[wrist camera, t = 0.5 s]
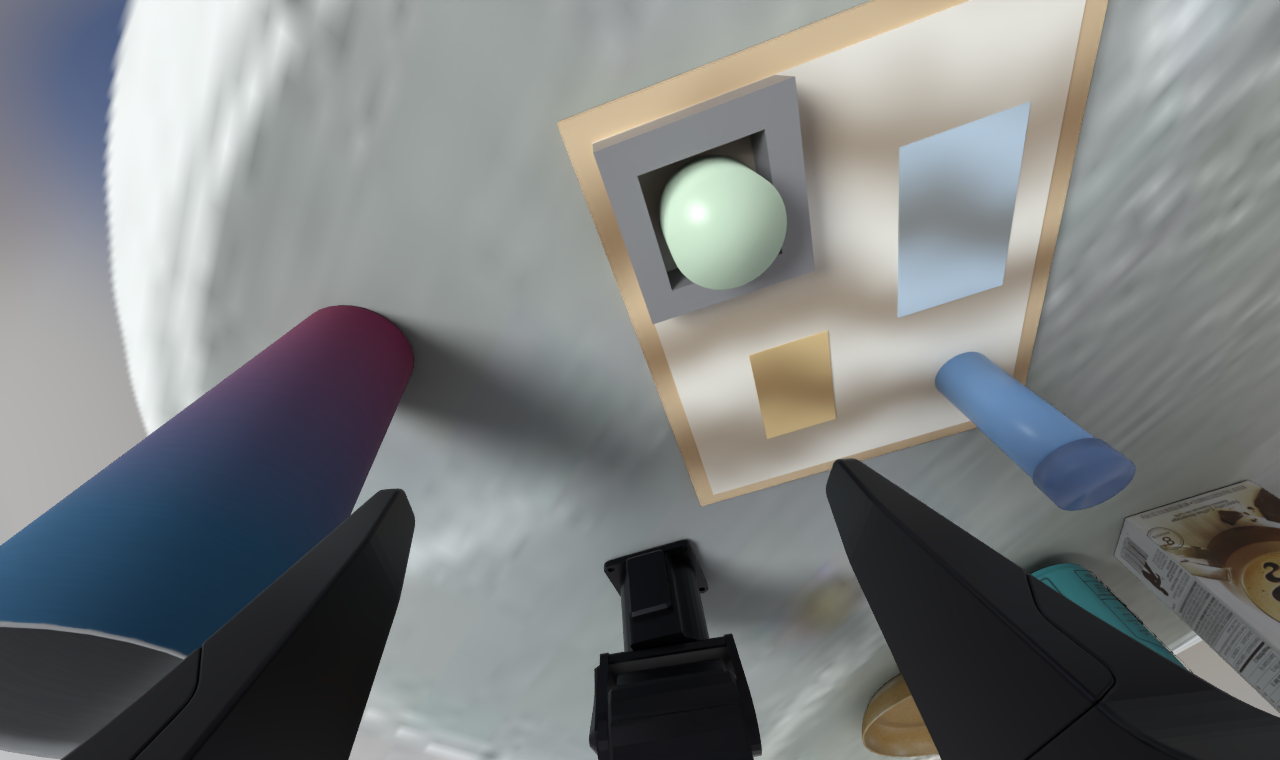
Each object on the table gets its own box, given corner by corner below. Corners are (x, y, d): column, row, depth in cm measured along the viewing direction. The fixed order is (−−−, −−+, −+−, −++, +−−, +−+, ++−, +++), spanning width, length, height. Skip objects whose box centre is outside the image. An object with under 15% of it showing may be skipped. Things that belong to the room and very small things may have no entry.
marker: (985, 386, 26) (1123, 498, 19) (931, 401, 26) (1049, 518, 20) (992, 342, 24) (1145, 450, 18) (934, 360, 25) (1064, 471, 18)
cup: (320, 255, 20) (-126, 578, 7) (461, 347, 23) (312, 683, 10) (253, 356, 22) (-169, 729, 10) (389, 428, 25) (199, 779, 13)
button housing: (796, 254, 21) (815, 270, 19) (647, 304, 21) (652, 324, 20) (774, 74, 17) (795, 76, 15) (592, 143, 17) (592, 152, 16)
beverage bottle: (985, 568, 39) (1271, 932, 23) (1068, 534, 37) (1443, 902, 21) (1002, 598, 43) (1262, 935, 26) (1078, 567, 41) (1410, 910, 24)
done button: (767, 241, 19) (793, 268, 17) (673, 273, 19) (686, 304, 17) (749, 138, 17) (777, 151, 14) (645, 176, 17) (655, 196, 15)
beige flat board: (1008, 407, 29) (1022, 418, 28) (698, 496, 31) (702, 510, 30) (1106, -91, 16) (1138, -100, 15) (558, 121, 18) (556, 124, 17)
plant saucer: (1111, 631, 50) (1141, 664, 47) (976, 723, 63) (993, 754, 60) (918, 627, 45) (939, 663, 42) (815, 728, 58) (827, 761, 55)
